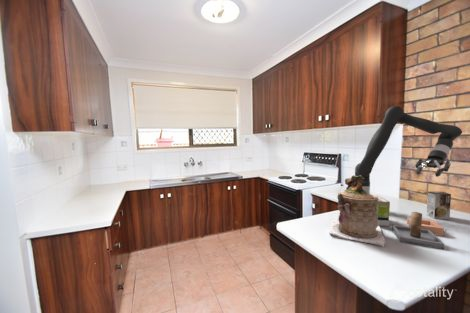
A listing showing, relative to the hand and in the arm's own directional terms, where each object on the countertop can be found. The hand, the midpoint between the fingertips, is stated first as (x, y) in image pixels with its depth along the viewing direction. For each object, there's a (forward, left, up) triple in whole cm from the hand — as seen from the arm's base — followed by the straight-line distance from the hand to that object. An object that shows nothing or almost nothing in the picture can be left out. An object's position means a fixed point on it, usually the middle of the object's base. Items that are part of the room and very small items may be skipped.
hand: (426, 174), depth 117 cm
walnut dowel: (-10, -22, -29) cm, 38 cm away
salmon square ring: (-2, -7, -30) cm, 31 cm away
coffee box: (+13, +20, -30) cm, 39 cm away
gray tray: (-10, -22, -30) cm, 38 cm away
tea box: (-25, -4, -30) cm, 40 cm away
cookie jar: (-37, -27, -30) cm, 55 cm away
